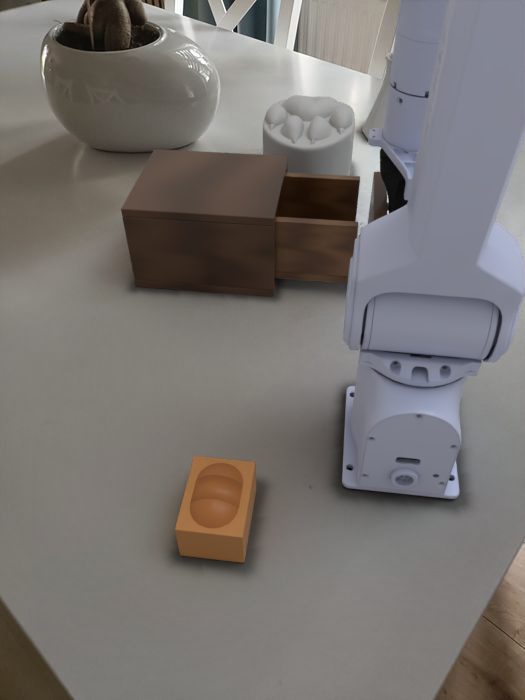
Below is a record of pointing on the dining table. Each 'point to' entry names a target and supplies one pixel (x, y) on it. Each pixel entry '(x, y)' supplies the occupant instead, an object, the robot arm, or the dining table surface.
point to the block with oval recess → (217, 509)
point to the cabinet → (205, 221)
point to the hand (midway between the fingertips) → (401, 227)
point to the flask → (379, 102)
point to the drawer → (321, 225)
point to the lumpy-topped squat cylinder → (311, 134)
